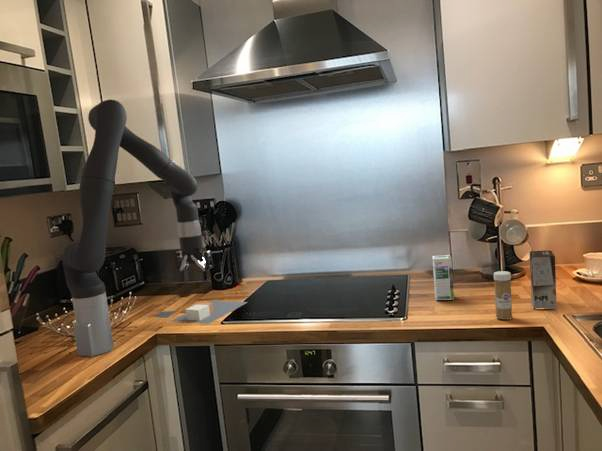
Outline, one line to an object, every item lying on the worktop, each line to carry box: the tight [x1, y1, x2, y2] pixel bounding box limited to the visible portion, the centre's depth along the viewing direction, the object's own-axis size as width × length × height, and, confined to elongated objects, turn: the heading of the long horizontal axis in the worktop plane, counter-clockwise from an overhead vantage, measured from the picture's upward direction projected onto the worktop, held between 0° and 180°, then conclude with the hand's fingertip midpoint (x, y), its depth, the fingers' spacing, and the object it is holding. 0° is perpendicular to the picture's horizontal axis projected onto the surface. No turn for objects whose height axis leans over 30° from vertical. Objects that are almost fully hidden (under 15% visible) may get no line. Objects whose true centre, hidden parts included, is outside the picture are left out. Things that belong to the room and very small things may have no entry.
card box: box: [185, 302, 214, 321], centre depth 174 cm, size 8×6×4 cm
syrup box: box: [431, 254, 455, 301], centre depth 169 cm, size 6×6×14 cm
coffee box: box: [529, 250, 557, 310], centre depth 152 cm, size 9×6×16 cm
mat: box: [171, 300, 248, 325], centre depth 180 cm, size 24×16×1 cm, turn 154°
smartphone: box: [153, 310, 177, 319], centre depth 178 cm, size 7×1×15 cm
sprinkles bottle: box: [493, 270, 513, 320], centre depth 145 cm, size 5×5×13 cm
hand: (196, 281), depth 173 cm, fingers open, 8 cm apart
